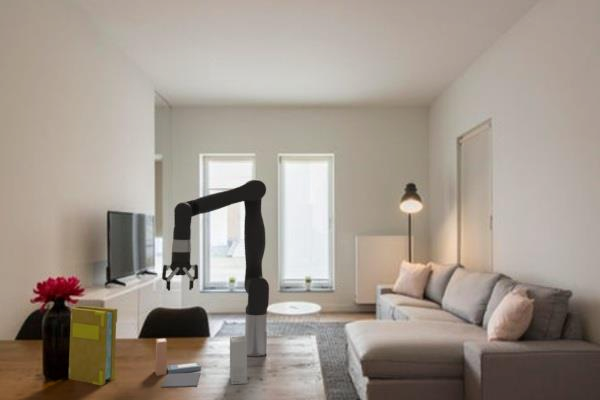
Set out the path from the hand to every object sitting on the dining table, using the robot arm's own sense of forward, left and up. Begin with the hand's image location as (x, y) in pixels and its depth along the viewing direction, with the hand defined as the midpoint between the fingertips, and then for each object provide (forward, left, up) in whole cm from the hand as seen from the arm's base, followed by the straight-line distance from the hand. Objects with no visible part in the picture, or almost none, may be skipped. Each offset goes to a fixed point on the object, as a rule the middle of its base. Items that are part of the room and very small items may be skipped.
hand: (179, 290), depth 178 cm
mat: (-5, +23, -28) cm, 37 cm away
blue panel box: (-4, +12, -28) cm, 31 cm away
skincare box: (-25, +24, -29) cm, 45 cm away
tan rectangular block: (+4, +14, -29) cm, 32 cm away
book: (+28, +18, -29) cm, 44 cm away
